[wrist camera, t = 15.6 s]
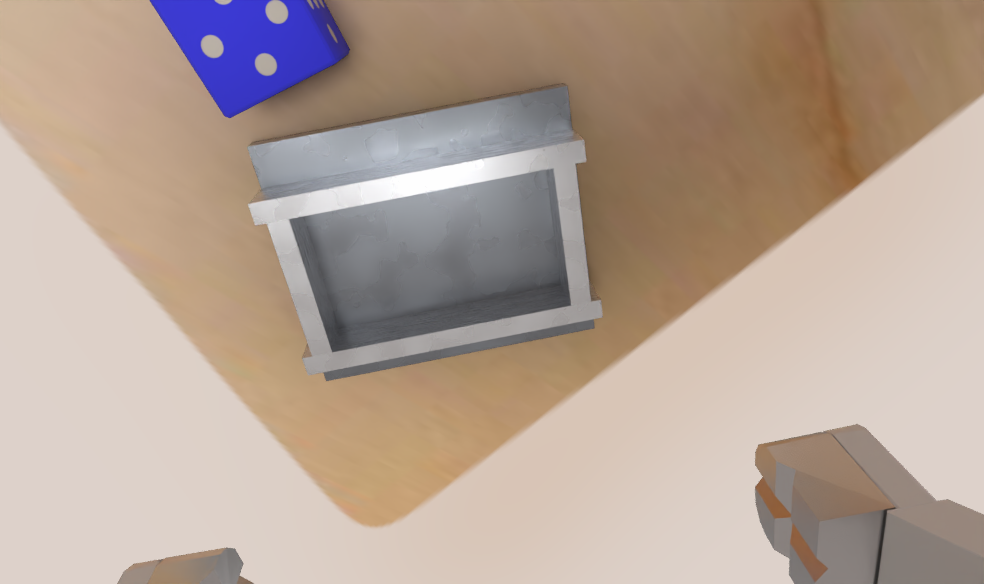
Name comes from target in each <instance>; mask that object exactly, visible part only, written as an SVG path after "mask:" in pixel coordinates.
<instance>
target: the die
mask: <svg viewBox="0 0 984 584" xmlns="http://www.w3.org/2000/svg"><path fill="white" fill-rule="evenodd" d="M150 2H151V3H152V5H153V6H154V8H155V9H156V11H157V13H158V14H159V16H160V17H161V19H162V20H163V22H164V23H165V25H166V26H167V28H168V30H169V31H170V33H171V34H172V36H173V37H174V39H175V40H176V42H177V43H178V45H179V46H180V48H181V50H182V51H183V53H184V54H185V56H186V57H187V59H188V60H189V62H190V63H191V65H192V67H193V68H194V70H195V71H196V73H197V74H198V76H199V77H200V79H201V80H202V82H203V84H204V85H205V87H206V88H207V90H208V91H209V93H210V94H211V96H212V97H213V99H214V101H215V102H216V104H217V105H218V107H219V108H220V110H221V111H222V113H223V114H224V116H225V117H228V118H231V117H233V116H235V115H237V114H239V113H241V112H243V111H245V110H247V109H249V108H251V107H252V106H254V105H256V104H258V103H260V102H262V101H264V100H266V99H268V98H270V97H272V96H274V95H276V94H278V93H280V92H281V91H283V90H285V89H287V88H289V87H291V86H293V85H295V84H297V83H299V82H301V81H303V80H305V79H307V78H309V77H311V76H312V75H314V74H316V73H318V72H320V71H322V70H324V69H326V68H328V67H330V66H332V65H334V64H336V63H337V62H338V61H340V60H341V59H342V58H344V57H345V56H346V55H348V54H349V50H350V49H349V47H348V45H347V43H346V41H345V40H344V38H343V36H342V34H341V32H340V30H339V28H338V26H337V25H336V23H335V21H334V19H333V17H332V15H331V13H330V11H329V9H328V8H327V6H326V4H325V2H324V0H150Z"/></svg>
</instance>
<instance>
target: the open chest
mask: <svg viewBox="0 0 984 584" xmlns="http://www.w3.org/2000/svg"><path fill="white" fill-rule="evenodd" d="M247 148H248V151H249V154H250V157H251V160H252V163H253V166H254V169H255V172H256V174H257V177H258V180H259V183H260V186H261V190H260V191H259V192H258V193H257V194H256V195H255V197H254V198H253V199H252V200H251V201H250V202H249V204H248V206H249V209H250V212H251V214H252V217H253V220H254V223H255V226H256V225H261V224H266V223H267V226H268V229H269V232H270V235H271V238H272V241H273V244H274V247H275V250H276V252H277V255H278V258H279V261H280V264H281V267H282V270H283V273H284V276H285V279H286V282H287V285H288V287H289V290H290V293H291V296H292V299H293V302H294V305H295V308H296V311H297V314H298V317H299V319H300V322H301V325H302V328H303V331H304V334H305V337H306V340H307V346H306V349H305V352H304V354H303V357H302V359H303V362H304V365H305V368H306V371H307V374H308V375H312V374H317V373H322V372H324V375H325V378H326V381H329V380H334V379H339V378H345V377H350V376H355V375H360V374H365V373H370V372H375V371H380V370H385V369H390V368H395V367H400V366H405V365H411V364H416V363H421V362H426V361H431V360H436V359H441V358H446V357H451V356H456V355H461V354H466V353H471V352H477V351H482V350H487V349H492V348H497V347H502V346H507V345H512V344H517V343H522V342H527V341H532V340H537V339H543V338H548V337H553V336H558V335H563V334H568V333H573V332H578V331H583V330H588V329H593V328H594V319H597V318H602V317H603V315H602V305H601V299H600V297H599V296H598V294H597V292H596V290H595V289H594V287H593V285H592V284H591V282H590V280H589V275H588V266H587V257H586V248H585V239H584V230H583V221H582V212H581V203H580V194H579V186H578V177H577V168H576V164H577V163H582V162H586V153H585V143H584V139H583V138H582V137H581V136H580V135H578V134H577V133H576V132H575V131H574V130H573V129H572V123H571V114H570V105H569V97H568V88H567V85H565V84H563V83H562V84H556V85H551V86H546V87H541V88H535V89H530V90H525V91H520V92H514V93H509V94H504V95H499V96H493V97H488V98H483V99H478V100H473V101H467V102H462V103H457V104H452V105H446V106H441V107H436V108H431V109H425V110H420V111H415V112H410V113H404V114H399V115H394V116H389V117H383V118H378V119H373V120H368V121H362V122H357V123H352V124H347V125H341V126H336V127H331V128H326V129H320V130H315V131H310V132H305V133H300V134H294V135H289V136H284V137H279V138H273V139H268V140H263V141H258V142H253V143H251V144H250V145H249V146H248V147H247Z"/></svg>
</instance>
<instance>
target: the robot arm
mask: <svg viewBox="0 0 984 584" xmlns="http://www.w3.org/2000/svg"><path fill="white" fill-rule="evenodd" d="M755 453H756V454H755V465H756V467H757V468H758V470H759V472H760V473H761V475H762V476H763V477H762V479H761V480H760V481H759V483H758V484H757V485H756V487H755V497H756V507H757V511H758V515H759V519H760V522H761V525H762V527H763V529H764V532H765V534H766V536H767V538H768V540H769V541H770V543H771V545H772V547H773V548H774V550H776V551H778V552H779V553H781V554H783V555H784V556H786V557H788V558H789V559H790V561H789V566H790V567H789V575H790V577H791V579H792V580H793V582H794V584H984V515H983V514H981V513H978V512H976V511H974V510H972V509H969V508H967V507H965V506H962V505H960V504H957V503H955V502H953V501H951V500H948V499H947V500H940V501H936V500H935V498H934V497H933V496H931V495H930V493H928V491H927V490H926V489H925V488H924V487H923V486H922V485H921V484H920V483H919V482H918V481H917V480H916V479H915V478H914V477H913V476H912V475H911V474H910V473H909V472H908V471H907V470H906V469H905V468H904V467H903V466H902V465H901V464H900V463H899V462H898V461H897V460H896V459H895V458H894V457H893V456H892V455H891V454H890V453H889V452H888V451H887V450H886V448H885V447H884V446H883V445H882V444H881V443H880V442H879V441H878V440H877V439H876V438H874V436H873V435H872V434H871V433H870V432H869V431H868V430H867V429H866V428H864V427H862V426H860V425H858V424H856V425H852V426H847V427H842V428H837V429H832V430H827V431H824V432H818V433H814V434H809V435H804V436H799V437H794V438H789V439H784V440H779V441H774V442H769V443H764V444H760V445H758V447H757V449H756V452H755ZM242 566H243V562H242V560H241V558H240V557H239V555H238V553H237V552H236V550H235V549H233V548H222V549H216V550H210V551H204V552H198V553H192V554H186V555H181V556H174V557H168V558H165V559H161V560H155V561H148V562H143V563H136V564H133V565H132V566H130V567H129V568H128V569H127V570H125V571H124V572H123V574H122V576H121V578H120V580H119V581H118V583H117V584H253V583H252V582H250V581H248V580H247V579H245V578H243V577H241V576H239V575H240V572H241V569H242Z"/></svg>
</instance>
